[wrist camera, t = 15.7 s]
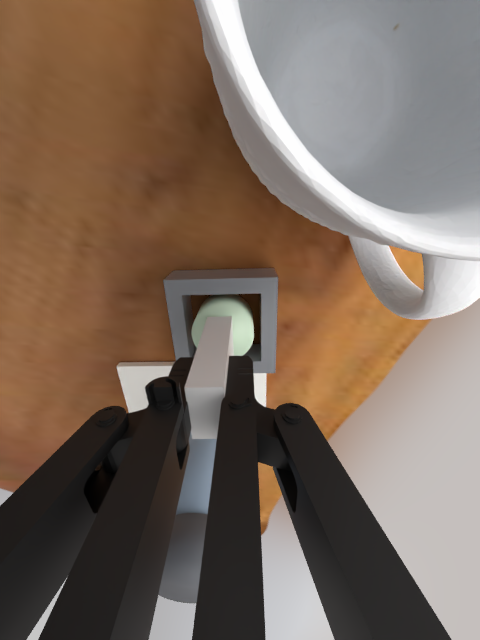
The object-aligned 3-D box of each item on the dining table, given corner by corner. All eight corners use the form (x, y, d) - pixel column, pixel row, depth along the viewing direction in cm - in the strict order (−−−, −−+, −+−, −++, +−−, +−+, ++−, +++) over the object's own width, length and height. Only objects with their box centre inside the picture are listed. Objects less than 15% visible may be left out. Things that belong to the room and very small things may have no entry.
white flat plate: (119, 362, 21) (115, 367, 21) (265, 360, 21) (266, 365, 20) (142, 447, 26) (139, 454, 25) (264, 447, 25) (265, 453, 25)
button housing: (173, 270, 18) (163, 280, 16) (274, 267, 18) (278, 277, 16) (185, 356, 21) (178, 374, 19) (272, 354, 21) (275, 373, 19)
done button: (195, 292, 18) (188, 306, 16) (252, 291, 18) (253, 305, 16) (201, 342, 20) (194, 361, 18) (253, 341, 20) (254, 360, 17)
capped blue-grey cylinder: (193, 432, 24) (154, 602, 14) (187, 395, 22) (137, 560, 12) (239, 431, 23) (234, 603, 13) (237, 394, 22) (229, 561, 12)
